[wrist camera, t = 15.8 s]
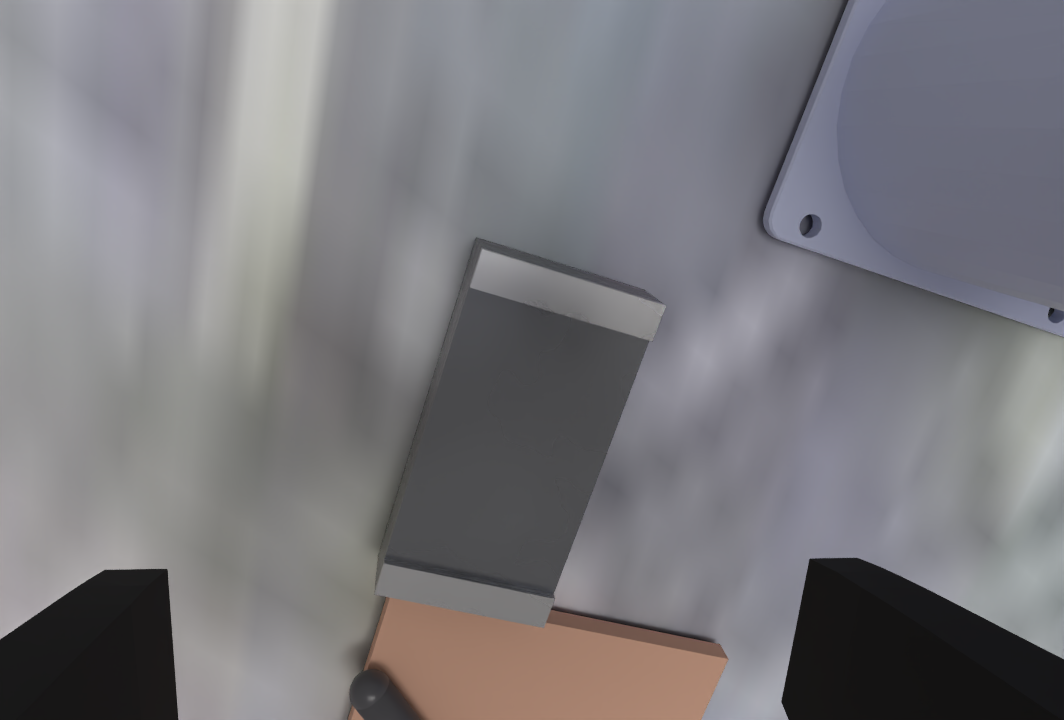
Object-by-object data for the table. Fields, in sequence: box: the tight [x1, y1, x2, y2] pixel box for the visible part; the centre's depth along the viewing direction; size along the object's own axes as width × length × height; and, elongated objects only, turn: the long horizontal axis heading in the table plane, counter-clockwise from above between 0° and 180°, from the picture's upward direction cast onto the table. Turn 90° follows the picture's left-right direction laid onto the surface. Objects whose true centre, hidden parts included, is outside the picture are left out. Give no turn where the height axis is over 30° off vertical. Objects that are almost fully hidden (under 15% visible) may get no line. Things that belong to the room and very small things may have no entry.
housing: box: [374, 238, 666, 628], centre depth 16 cm, size 18×8×2 cm, turn 72°
